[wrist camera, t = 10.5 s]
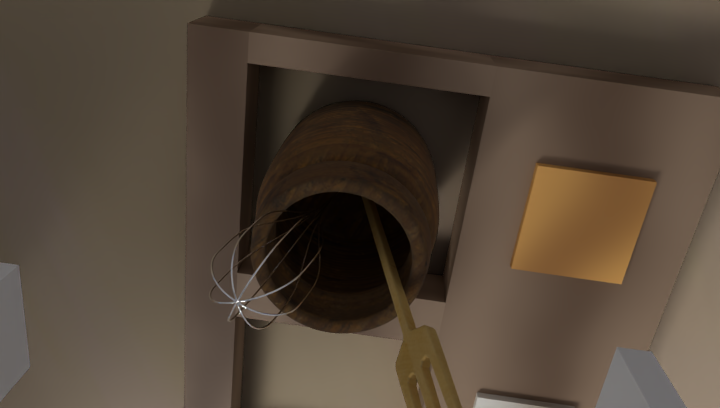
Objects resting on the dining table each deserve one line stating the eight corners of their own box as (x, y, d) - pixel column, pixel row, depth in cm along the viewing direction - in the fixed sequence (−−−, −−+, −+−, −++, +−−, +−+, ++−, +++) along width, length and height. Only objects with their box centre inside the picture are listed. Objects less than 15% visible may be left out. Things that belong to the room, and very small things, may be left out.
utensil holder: (324, 64, 22) (240, 198, 11) (472, 150, 23) (532, 353, 12) (254, 194, 24) (127, 412, 13) (391, 267, 25) (378, 528, 14)
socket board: (197, 440, 30) (181, 479, 27) (205, 15, 21) (184, 24, 19) (566, 494, 29) (578, 537, 27) (717, 86, 21) (751, 103, 19)
